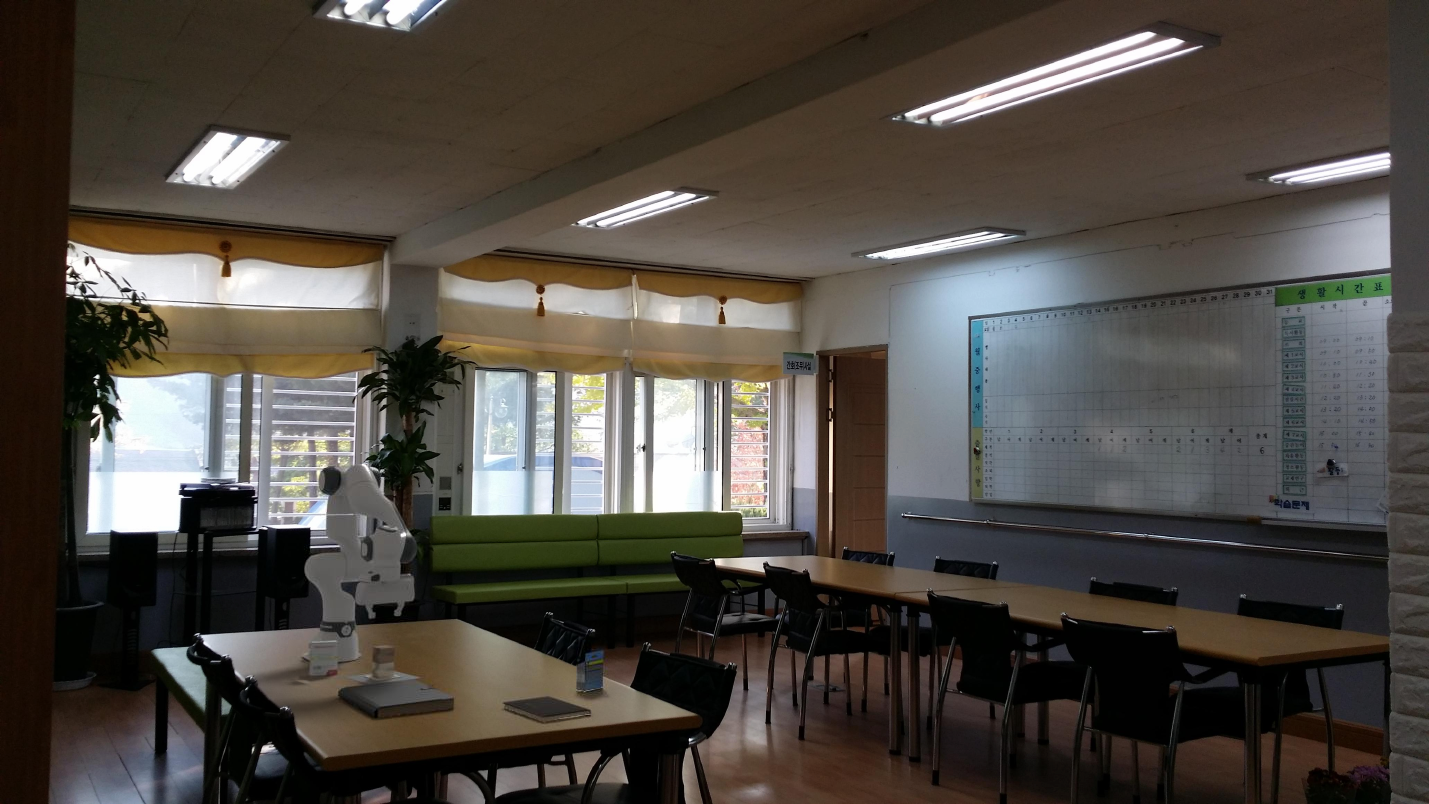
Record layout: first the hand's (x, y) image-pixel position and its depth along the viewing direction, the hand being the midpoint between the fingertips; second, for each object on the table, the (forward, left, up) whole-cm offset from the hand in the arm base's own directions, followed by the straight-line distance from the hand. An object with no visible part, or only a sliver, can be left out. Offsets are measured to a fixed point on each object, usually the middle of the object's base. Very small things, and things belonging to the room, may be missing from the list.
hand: (384, 616), depth 360 cm
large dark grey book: (+34, -16, -22) cm, 43 cm away
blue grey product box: (+58, +40, -21) cm, 74 cm away
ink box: (-19, -11, -21) cm, 30 cm away
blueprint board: (0, 0, -21) cm, 21 cm away
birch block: (0, 0, -20) cm, 20 cm away
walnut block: (0, 0, -15) cm, 15 cm away
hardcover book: (+74, +10, -22) cm, 78 cm away
